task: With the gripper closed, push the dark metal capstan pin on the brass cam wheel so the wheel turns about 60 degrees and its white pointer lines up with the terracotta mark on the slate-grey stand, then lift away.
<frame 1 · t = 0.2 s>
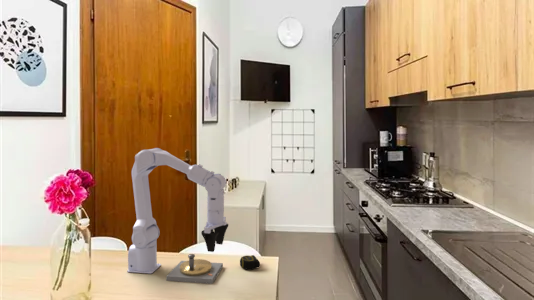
hand: (215, 247, 126), 10 cm above the table, fingers open, 7 cm apart
stand: (195, 273, 128), on the table
tape measure: (250, 267, 134), on the table
cam wheel: (195, 260, 127), point 5 cm above the table, hinge at 0.0°
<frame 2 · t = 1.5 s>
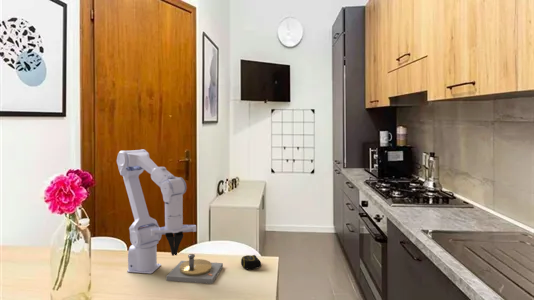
hand: (174, 254, 120), 9 cm above the table, fingers closed
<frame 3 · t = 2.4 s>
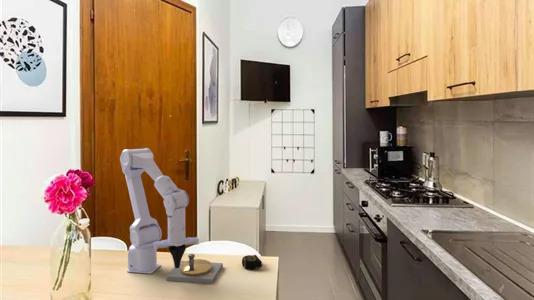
hand: (176, 267, 121), 5 cm above the table, fingers closed
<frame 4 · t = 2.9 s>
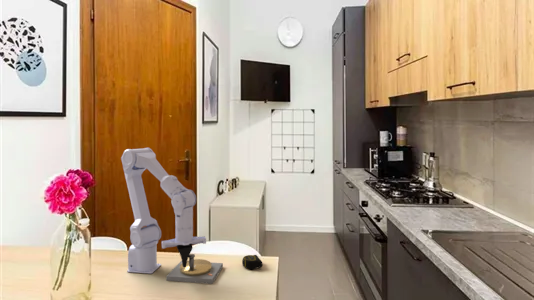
hand: (184, 266, 122), 5 cm above the table, fingers closed, pressing on cam wheel
cam wheel: (195, 260, 127), point 5 cm above the table, hinge at 0.0°, touching gripper
everything else where it was.
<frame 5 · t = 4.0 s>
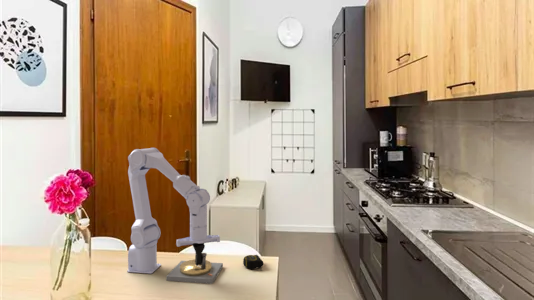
hand: (198, 264, 123), 5 cm above the table, fingers closed, pressing on cam wheel
cam wheel: (195, 260, 127), point 5 cm above the table, hinge at 53.4°, touching gripper
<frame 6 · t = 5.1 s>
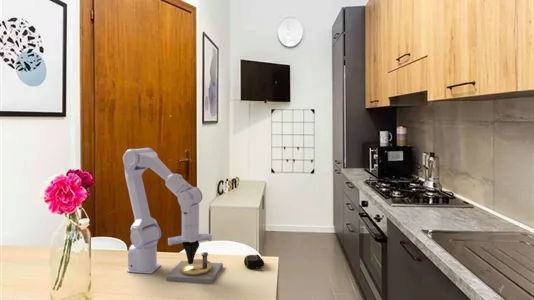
hand: (190, 262, 123), 6 cm above the table, fingers closed
cam wheel: (195, 259, 127), point 5 cm above the table, hinge at 61.6°
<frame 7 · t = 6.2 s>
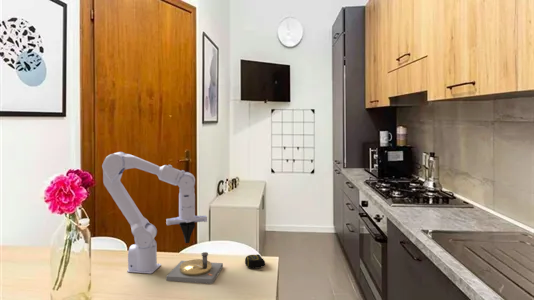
hand: (187, 242, 133), 9 cm above the table, fingers closed
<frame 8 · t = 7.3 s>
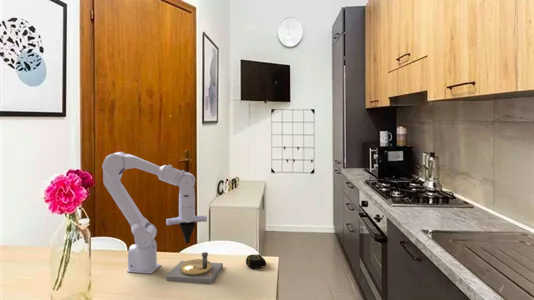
hand: (187, 242, 133), 9 cm above the table, fingers closed
at the end: cam wheel at +62° (first picture: +0°) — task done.
